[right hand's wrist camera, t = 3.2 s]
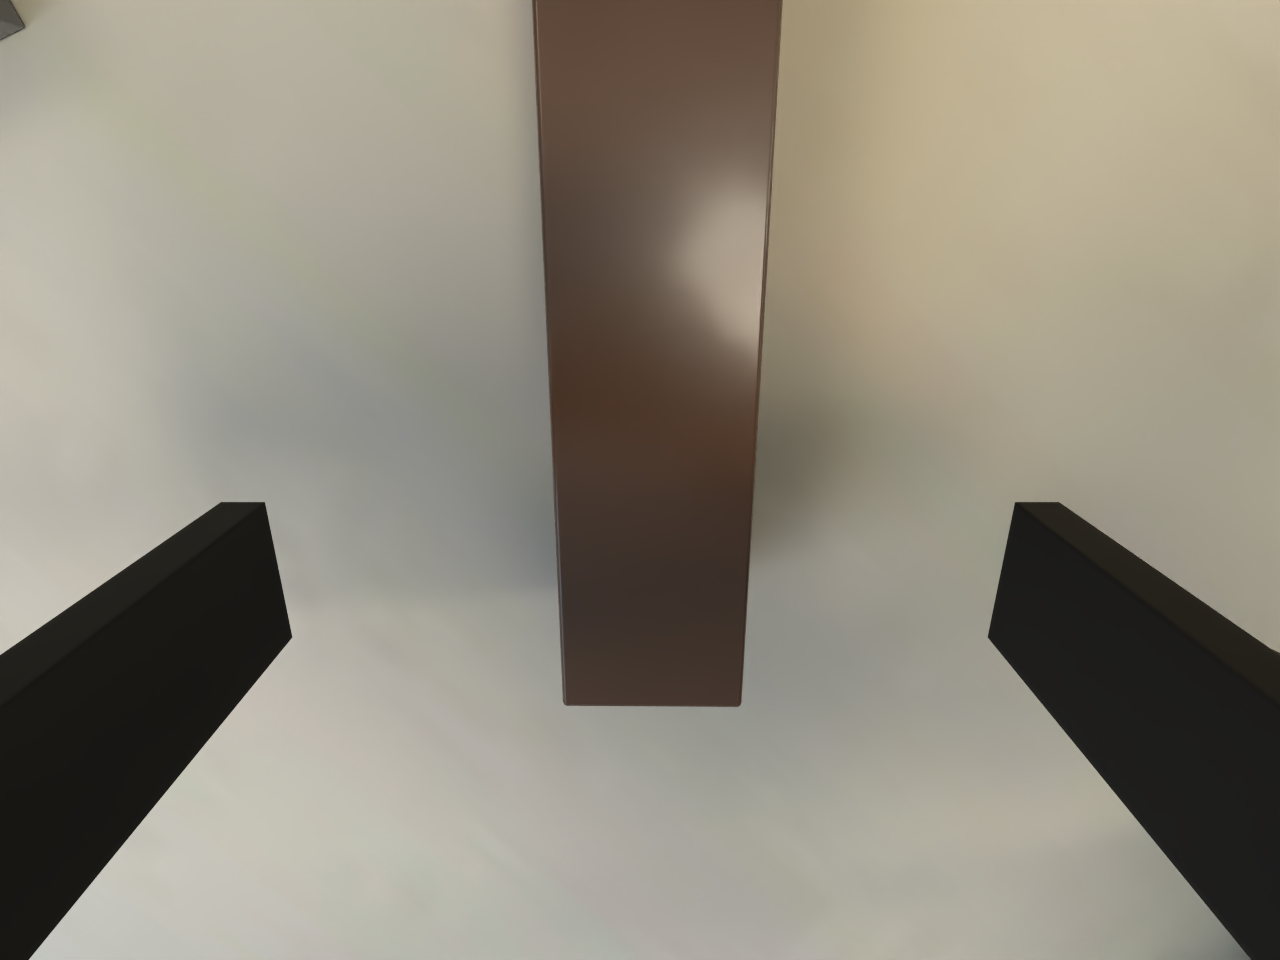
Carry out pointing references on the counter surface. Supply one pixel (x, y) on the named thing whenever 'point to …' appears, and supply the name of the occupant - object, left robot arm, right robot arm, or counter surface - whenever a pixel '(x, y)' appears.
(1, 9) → the slate cube
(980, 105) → the counter surface
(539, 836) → the counter surface
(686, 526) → the walnut bar
